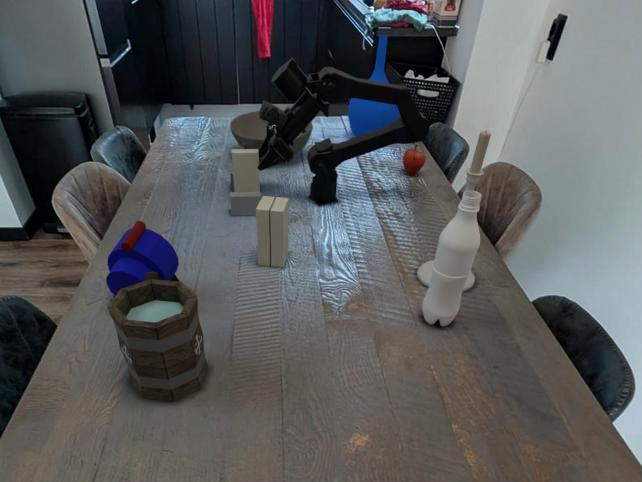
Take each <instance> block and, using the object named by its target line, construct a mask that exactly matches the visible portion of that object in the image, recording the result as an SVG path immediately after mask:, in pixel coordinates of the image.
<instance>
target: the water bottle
mask: <svg viewBox="0 0 642 482" xmlns="http://www.w3.org/2000/svg"><path fill="white" fill-rule="evenodd" d="M463 193H464V194H463ZM463 193H462V197H461V200H462V201H461V200H460V202H459V204H458V206H457V212H456V214H455V215H454V216H453V218H452V219H451V220H450V221H449V222H448V224H447V225H445V227H444V228H443V229H442V231H441V232H440V235H439V237H438V241H437V242H438V243H437V247H436V251H435V255H434V259H433V260H434V263H433V265H432V276H431V281H430V285H429V287H427V291H426V293H425V296H424V298H423V299H422V304H421V313H422V316H423V318H424V320H425V322H426V323H428V324H429V325H434V324H435V323H436V322H437V321H439V326H441V327H446V326H449V325H450V324H451V323H452V322H453V320H454V319H455V318H456V316H457V315H458V313H459V311H460V307H461V299H462V294H463V292H464V291H463V288H464V285H465V282H466V280H467V278H468V276H469V274H470V273H471V272H472V269H473V265H474V262H475V259H476V256H477V253H478V250H479V248H480V244H481V233H480V228H479V223H478V212H480V209H481V208H480V206H481V201H482V197H483V196H482V195H483V194H482V193H480V192H479V191H475V190H474V191H465V192H464V191H463ZM458 209H459V210H458ZM462 291H463V292H462Z"/></svg>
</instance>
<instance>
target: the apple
mask: <svg viewBox="0 0 642 482" xmlns="http://www.w3.org/2000/svg"><path fill="white" fill-rule="evenodd" d="M412 144H413V145H414V148H408V149H406V150H405V152H404V155H403V158H402V164H403V169H404V170H405V172H406V175H409V176H410V175H412V176H415V175H417V174H418V173H419V171H420V170H422V168H423V167H424V165H425V163H426V161H427V160H426V159H427V158H426V155H425V153H423V151H420V150H417V147H418V146H419V145H418V144H417V143H412Z"/></svg>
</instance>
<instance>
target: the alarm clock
mask: <svg viewBox="0 0 642 482" xmlns="http://www.w3.org/2000/svg"><path fill="white" fill-rule="evenodd" d="M106 263H107V268H108V271H109V272H108V274H107V275H106V278H105V282H106V286H107V288H108V290H109V291H110V293H112V295H113V298H114V297H115V296H116V295H117V293H118V292H119V290H120V289H122V288H125V287H128V286H131V285H134V284H137V283H140V282H143V281H145V275H146V273H148V272H157V273H158V276H159V280H167V281H178V282H181V281H180V280H179V278H178V276H177V275H176V272H177V271H178V268H179V265H180V264H179V263H180V262H179V256H178V254H177V251H176V249H175V248H174V247H173V245H172V244H171V243H170V242H169V241H168V240H167V239H166V238H165V237H164V236H163V235H161V234H159V233H158V232H156V231H154V230H151V229H148V228H147V225H146V223H145V222H144V221H142V220H137V221H136V222H135V223H134V225H133V226H132V227H131V228H130V229H127V230H126V231H125V232H124V233H123V235H122V236H121V238H119V240H118V242H117V243H116V245H115V246H114V247H113V249H112V250H111V252H110V253H109V255H108V256H107V262H106Z"/></svg>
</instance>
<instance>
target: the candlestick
mask: <svg viewBox="0 0 642 482" xmlns="http://www.w3.org/2000/svg"><path fill="white" fill-rule="evenodd" d="M491 136H492V133H491V132H489V131H488V130H487V129H486V130H485V131H479V135H478V139H477V142H476V145H475V150H474V153H473V157H472V161H471V164H470V168H466V169H465V170H464V171H465V173H466V176H465V181H466V187H465V189H464V190H463V193H462V195H463V194H464V192H465V191H475V188H476V186H477V184H478V183H480V182H481V181H480V180H481V177H482V176H483V175H485V171H484V170H482V167H483V164H484V161H485V157H486V154H487V150H488V146H489V143H490V139H491ZM461 201H462V199H461V200H460V202H461ZM458 210H459V208H457V211H458ZM433 263H434V259H432V260H429V261H426V262H424V263H422V264H421V265H420V266H419V267H418V269H417V272H416V276H417V279H418V281H419V282H420V283H421V284H423V285H424V286H426V287H427V288H429V285H430V281H431V276H432V265H433ZM475 282H476V277H475V275H474V273H473V271H471V273H470V274H469V276H468V278H467V280H466V282H465V285H464V288H463V291H462V293H463V292H466V291H469V290H470V289H471V288H473V286H474V284H475Z"/></svg>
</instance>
